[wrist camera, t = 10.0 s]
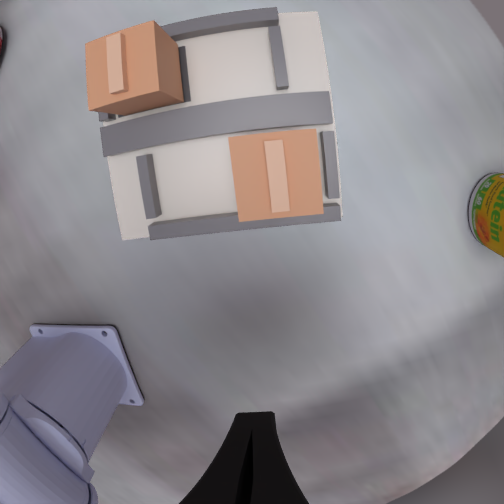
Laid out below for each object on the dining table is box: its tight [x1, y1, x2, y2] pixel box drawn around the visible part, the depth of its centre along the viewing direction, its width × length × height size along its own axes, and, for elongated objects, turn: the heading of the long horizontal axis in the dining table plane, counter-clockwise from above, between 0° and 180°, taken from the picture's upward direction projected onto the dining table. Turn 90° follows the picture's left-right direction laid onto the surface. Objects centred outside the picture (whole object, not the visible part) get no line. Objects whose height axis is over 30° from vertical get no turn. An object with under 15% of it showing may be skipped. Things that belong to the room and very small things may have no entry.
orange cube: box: [228, 129, 324, 222], centre depth 14 cm, size 4×4×4 cm
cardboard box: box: [85, 20, 184, 116], centre depth 13 cm, size 4×4×4 cm
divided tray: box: [98, 7, 343, 240], centre depth 16 cm, size 13×12×2 cm
